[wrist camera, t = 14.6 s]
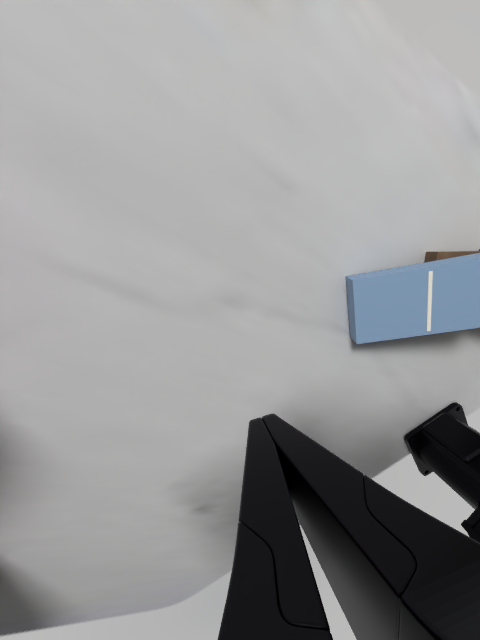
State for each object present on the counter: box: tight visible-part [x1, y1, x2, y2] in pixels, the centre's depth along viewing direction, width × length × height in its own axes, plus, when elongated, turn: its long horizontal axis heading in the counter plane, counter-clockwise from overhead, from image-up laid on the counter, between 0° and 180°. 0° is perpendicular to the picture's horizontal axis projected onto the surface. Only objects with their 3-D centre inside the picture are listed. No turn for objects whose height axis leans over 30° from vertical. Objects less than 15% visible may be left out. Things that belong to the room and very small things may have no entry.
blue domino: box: [346, 253, 480, 344], centre depth 18 cm, size 2×5×10 cm
